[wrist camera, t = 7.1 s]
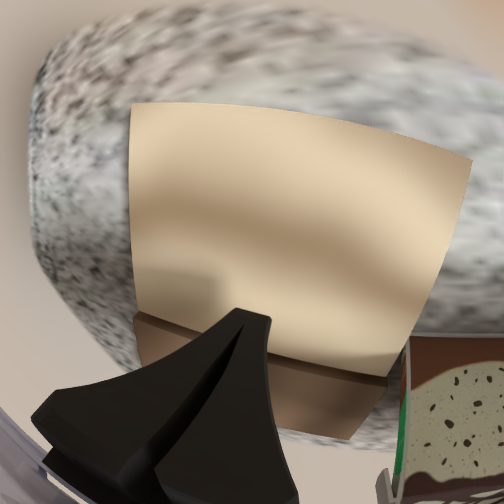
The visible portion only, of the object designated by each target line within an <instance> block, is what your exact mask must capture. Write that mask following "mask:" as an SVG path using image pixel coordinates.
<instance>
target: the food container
mask: <svg viewBox="0 0 504 504" xmlns="http://www.w3.org/2000/svg"><path fill="white" fill-rule="evenodd" d="M375 486H376V493H377V500H378V504H504V333H441V332H419V331H412V332H411V334H410V335H409V337H408V339H407V341H406V343H405V345H404V347H403V348H402V350H401V397H400V417H399V430H398V441H397V450H396V459H395V466H394V473H393V479H392V485H391V482H390V477H389V472H388V468H386V469H383V470H382V472H381V473H380V475H379V476H378V478H377V482H376V485H375Z"/></svg>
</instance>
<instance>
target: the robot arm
mask: <svg viewBox="0 0 504 504" xmlns="http://www.w3.org/2000/svg"><path fill="white" fill-rule="evenodd" d="M271 323H272V319H271V317H270V316H267V315H263V314H259V313H255V312H252V311H248V310H244V309H241V308H237V307H236V308H234V309H232V310H231V311H230V312H229V313H228V314H226V315H225V316H224V317H223V318H222V319H220V320H219V321H218V322H217V323H215V324H214V325H213V326H211V327H210V328H209V329H207V330H206V331H205V332H203V333H202V334H200V335H199V336H198V337H196V338H195V339H193V340H192V341H190V342H189V343H187V344H185V345H184V346H182V347H181V348H179V349H177V350H176V351H174V352H172V353H171V354H169V355H167V356H165V357H163V358H161V359H159V360H157V361H155V362H153V363H151V364H149V365H147V366H144V367H142V368H140V369H137V370H135V371H132V372H130V373H127V374H124V375H121V376H118V377H115V378H112V379H109V380H105V381H101V382H98V383H94V384H90V385H85V386H79V387H72V388H66V389H58V390H55V391H54V392H53V393H52V394H51V395H50V396H49V397H48V398H47V399H46V400H45V401H44V402H43V403H42V405H41V406H40V407H39V408H38V409H37V410H36V411H35V412H34V414H33V415H32V416H31V421H32V423H33V424H34V426H35V427H36V428H37V429H38V431H39V432H40V433H41V434H42V435H43V436H44V437H45V439H46V440H47V441H48V442H49V443H50V444H51V445H52V446H53V448H52V449H51V450H50V451H49V453H47V452H46V451H45V450H44V449H43V448H41V447H40V446H39V445H38V444H37V443H36V442H35V441H34V440H33V439H31V438H30V437H29V436H28V435H27V434H26V433H25V432H24V431H23V430H22V429H21V428H20V427H19V426H18V425H17V424H16V423H15V422H14V421H13V420H12V419H11V418H10V417H9V416H8V415H7V414H6V413H5V412H4V410H3V409H2V408H1V407H0V504H79V503H78V502H77V501H76V500H74V499H73V498H72V497H70V496H69V495H68V494H66V493H65V492H64V491H62V490H61V489H59V488H58V487H57V486H55V485H54V484H53V483H51V482H50V481H49V480H48V479H47V473H46V472H48V473H49V474H50V475H51V476H52V477H54V478H55V479H56V480H58V481H59V482H60V483H61V484H62V485H64V486H65V487H66V488H68V489H69V490H70V491H72V492H73V493H74V494H76V495H77V496H78V497H80V498H81V499H83V500H84V501H86V502H87V503H89V504H299V497H298V491H297V489H296V486H295V484H294V481H293V479H292V477H291V474H290V471H289V468H288V465H287V463H286V459H285V457H284V453H283V450H282V447H281V443H280V439H279V436H278V432H277V428H276V424H275V420H274V415H273V410H272V404H271V398H270V391H269V382H268V369H267V343H268V338H269V333H270V328H271Z"/></svg>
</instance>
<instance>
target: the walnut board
mask: <svg viewBox="0 0 504 504" xmlns="http://www.w3.org/2000/svg"><path fill="white" fill-rule="evenodd" d="M133 323H134V329H135V334H136V339H137V344H138V349H139V354H140V359H141V363H142V367H144V366H147V365H149V364H151V363H153V362H155V361H157V360H159V359H161V358H163V357H165V356H167V355H169V354H171V353H172V352H174V351H176V350H177V349H179V348H181V347H182V346H184V345H185V344H187V343H189V342H190V341H192V340H193V339H195V338H196V337H198V336H199V335H200V334H202V333H201V332H198V331H195V330H192V329H189V328H186V327H183V326H180V325H178V324H175V323H172V322H169V321H166V320H163V319H161V318H158V317H155V316H152V315H150V314H147V313H144V312H142V311H139V312H138V313H137V314H136V315H135V316H134V317H133ZM267 369H268V382H269V391H270V398H271V404H272V410H273V415H274V420H275V424H276V426H278V427H282V428H286V429H291V430H295V431H300V432H305V433H310V434H315V435H320V436H326V437H332V438H338V439H345V440H349V439H350V438H351V436H352V435H353V434H354V433H355V432H356V430H357V429H358V428H359V427H360V425H361V424H362V423H363V421H364V420H365V419H366V418H367V416H368V415H369V414H370V412H371V411H372V409H373V408H374V407H375V405H376V404H377V403H378V401H379V400H380V398H381V397H382V395H383V394H384V393H385V391H386V390H387V388H388V383H387V376H386V377H383V376H377V375H371V374H365V373H359V372H354V371H349V370H344V369H339V368H334V367H329V366H324V365H320V364H315V363H311V362H306V361H302V360H298V359H293V358H289V357H285V356H281V355H277V354H274V353H270V352H267Z"/></svg>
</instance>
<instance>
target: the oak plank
mask: <svg viewBox="0 0 504 504" xmlns="http://www.w3.org/2000/svg"><path fill="white" fill-rule="evenodd" d="M472 161H473V160H471V159H469V158H466V157H464V156H461V155H459V154H456V153H453V152H451V151H448V150H445V149H443V148H440V147H437V146H434V145H431V144H428V143H425V142H422V141H419V140H416V139H413V138H409V137H406V136H403V135H399V134H396V133H392V132H389V131H385V130H381V129H378V128H374V127H370V126H366V125H362V124H357V123H353V122H348V121H344V120H339V119H334V118H329V117H324V116H318V115H313V114H307V113H301V112H294V111H287V110H280V109H272V108H263V107H254V106H243V105H231V104H214V103H183V102H163V103H132V105H131V119H130V138H129V216H130V236H131V251H132V263H133V273H134V283H135V292H136V300H137V308H138V310H139V311H142V312H144V313H147V314H150V315H152V316H155V317H158V318H161V319H163V320H166V321H169V322H172V323H175V324H178V325H180V326H183V327H186V328H189V329H192V330H195V331H198V332H201V333H203V332H205V331H206V330H207V329H209V328H210V327H211V326H213V325H214V324H215V323H217V322H218V321H219V320H220V319H222V318H223V317H224V316H225V315H226V314H228V313H229V312H230V311H231V310H232V309H234V308H236V307H237V308H241V309H244V310H248V311H252V312H255V313H259V314H263V315H267V316H270V317H271V319H272V323H271V328H270V333H269V338H268V343H267V352H270V353H274V354H277V355H281V356H285V357H289V358H293V359H298V360H302V361H306V362H311V363H315V364H320V365H324V366H329V367H334V368H339V369H344V370H349V371H354V372H359V373H365V374H371V375H377V376H383V377H386V376H387V374H388V372H389V371H390V369H391V367H392V366H393V364H394V362H395V361H396V359H397V357H398V355H399V354H400V352H401V350H402V348H403V347H404V345H405V343H406V341H407V339H408V337H409V335H410V334H411V332H412V330H413V328H414V326H415V324H416V322H417V320H418V318H419V316H420V314H421V312H422V309H423V307H424V305H425V303H426V301H427V299H428V296H429V294H430V292H431V290H432V287H433V285H434V283H435V280H436V278H437V275H438V273H439V270H440V268H441V265H442V263H443V260H444V258H445V255H446V252H447V249H448V247H449V244H450V241H451V238H452V235H453V232H454V229H455V226H456V223H457V219H458V216H459V213H460V209H461V206H462V202H463V199H464V195H465V191H466V187H467V183H468V179H469V175H470V170H471V165H472Z"/></svg>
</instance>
